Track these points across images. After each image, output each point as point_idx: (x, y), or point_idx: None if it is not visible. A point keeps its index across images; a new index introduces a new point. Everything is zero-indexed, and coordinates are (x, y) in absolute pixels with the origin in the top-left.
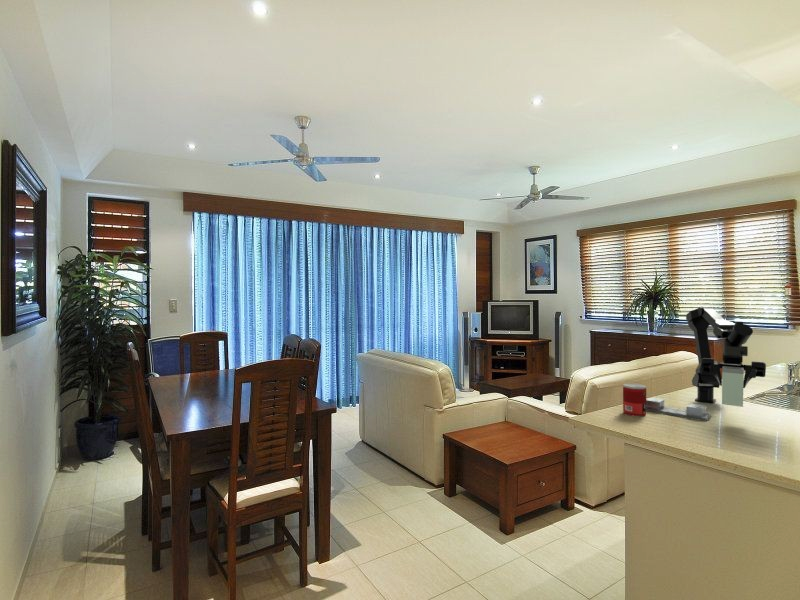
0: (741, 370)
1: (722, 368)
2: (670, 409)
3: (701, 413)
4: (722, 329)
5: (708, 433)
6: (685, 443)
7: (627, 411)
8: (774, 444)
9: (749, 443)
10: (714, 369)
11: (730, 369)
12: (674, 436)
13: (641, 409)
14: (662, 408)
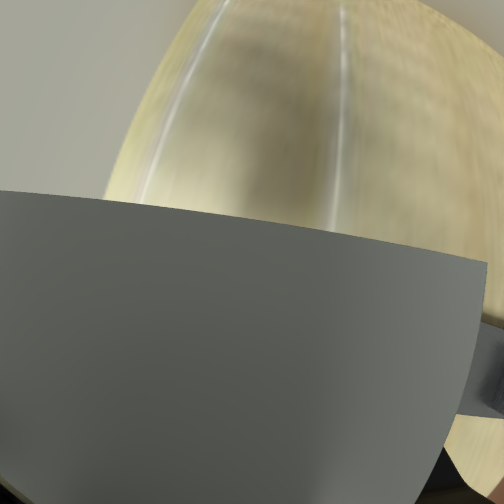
0: (30, 194)
1: (478, 269)
2: (481, 379)
3: None
4: None
5: (373, 100)
6: (409, 17)
7: None
8: (194, 72)
9: (262, 51)
10: (473, 490)
11: (252, 227)
12: (443, 55)
13: None
14: (501, 377)
